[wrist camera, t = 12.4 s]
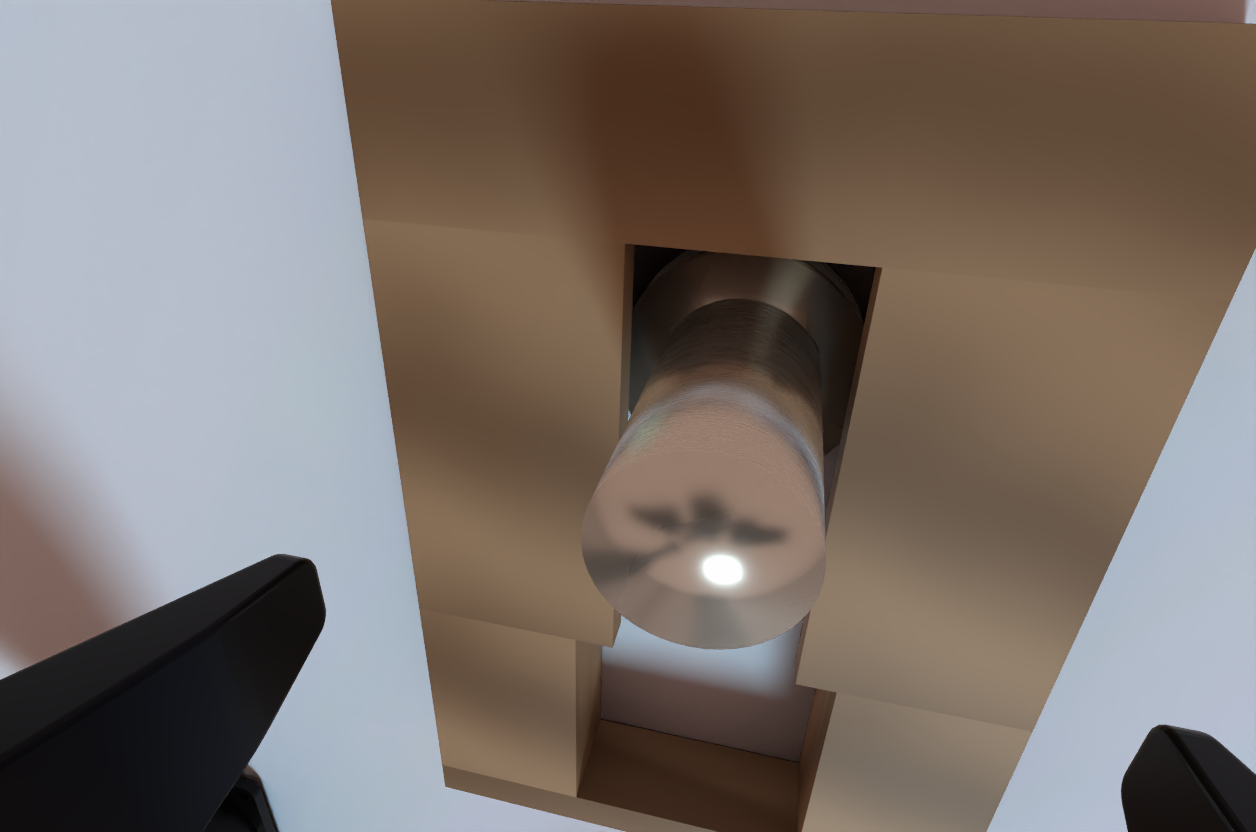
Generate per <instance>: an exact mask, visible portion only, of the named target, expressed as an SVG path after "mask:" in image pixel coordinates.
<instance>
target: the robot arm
mask: <svg viewBox="0 0 1256 832" xmlns="http://www.w3.org/2000/svg"><path fill="white" fill-rule="evenodd" d="M325 618H326V608H325V603H324V599H323V595H322V590H321V586H320V582H319V578H318V573H317V569H316V566H315V565H314V563H313V562H312V561H311V560H309V559H307V558H302V557H297V556H292V555H287V554H277V555H273V556H271V557H269V558H266V559H264V560H262V561H260V562H258V563H255V564H253V565H251V566H249V567H247V568H245V569H242V570H240V571H238V572H236V573H234V574H231V575H229V576H227V577H225V578H223V579H220V580H218V581H216V582H214V583H212V584H209V585H207V586H205V587H203V588H201V589H198V590H196V591H194V592H192V593H190V594H188V595H185V596H183V597H181V598H179V599H177V600H174V601H172V602H170V603H168V604H166V605H163V606H161V607H159V608H157V609H155V610H152V611H150V612H148V613H146V614H144V615H142V616H139V617H137V618H135V619H133V620H131V621H128V622H126V623H124V624H122V625H120V626H117V627H115V628H113V629H111V630H109V631H106V632H104V633H102V634H100V635H98V636H95V637H93V638H91V639H89V640H87V641H84V642H82V643H80V644H78V645H76V646H73V647H71V648H69V649H67V650H65V651H63V652H60V653H58V654H56V655H54V656H52V657H49V658H47V659H45V660H43V661H41V662H38V663H36V664H34V665H32V666H30V667H27V668H25V669H23V670H21V671H19V672H16V673H14V674H12V675H10V676H8V677H5V678H3V679H1V680H0V832H276V830H275V828H274V825H273V822H272V819H271V816H270V813H269V810H268V807H267V804H266V802H265V799H264V796H263V793H262V790H261V788H260V786H259V785H258V784H257V783H255V782H254V781H252V780H250V779H247V778H243V777H240V775H241V773H242V772H243V770H244V769H245V767H246V766H247V764H248V763H249V761H250V759H251V758H252V756H253V755H254V753H255V752H256V750H257V748H258V747H259V745H260V743H261V741H262V740H263V738H264V736H265V735H266V733H267V731H268V729H269V728H270V726H271V724H272V722H273V720H274V718H275V716H276V715H277V713H278V711H279V709H280V707H281V705H282V703H283V702H284V700H285V698H286V696H287V694H288V692H289V690H290V689H291V687H292V685H293V683H294V681H295V679H296V678H297V676H298V674H299V672H300V670H301V668H302V666H303V665H304V663H305V661H306V659H307V657H308V655H309V653H310V652H311V650H312V648H313V646H314V644H315V642H316V640H317V639H318V637H319V635H320V633H321V631H322V629H323V626H324V623H325ZM1121 799H1122V805H1123V810H1124V815H1125V820H1126V824H1127V829H1128V832H1256V774H1255V773H1254V772H1252V771H1251V770H1250V769H1249V768H1248V767H1247V766H1246V765H1245V764H1243V763H1242V762H1241V761H1240V760H1239V759H1238V758H1237V757H1236V756H1234V755H1233V754H1232V753H1231V752H1230V751H1229V750H1228V749H1227V748H1225V747H1224V746H1223V745H1222V744H1221V743H1220V742H1218V741H1217V740H1216V739H1215V738H1213V737H1212V736H1210V735H1208V734H1206V733H1203V732H1200V731H1195V730H1190V729H1185V728H1180V727H1175V726H1170V725H1158V726H1156V727H1154V728H1152V729H1151V731H1150V732H1149V733H1148V735H1147V737H1146V738H1145V740H1144V742H1143V743H1142V745H1141V747H1140V749H1139V750H1138V752H1137V754H1136V755H1135V757H1134V759H1133V761H1132V762H1131V764H1130V766H1129V767H1128V769H1127V771H1126V773H1125V775H1124V777H1123V781H1122V787H1121Z"/></svg>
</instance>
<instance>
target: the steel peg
mask: <svg viewBox="0 0 1256 832" xmlns="http://www.w3.org/2000/svg"><path fill="white" fill-rule="evenodd" d="M863 328H864V323H863V320H862V316H861V313H860V310H859V307H858V305H857V303H856V301H855V299H854V297H853V295H852V293H851V292H850V290H849V289H848V287H847V286H846V284H845V283H844V282H843V280H842V279H841V278H840V277H839V276H838V275H837V274H836V273H835V272H834V270H833V269H832V268H830V267H829V266H828V265H827V264H825V263H824V262H817V261H806V260H796V259H785V258H774V257H764V256H753V255H742V254H732V253H721V252H710V251H700V250H687V251H686V252H684V253H682V254H680V255H679V256H677V257H676V258H675V259H673V260H672V261H671V262H669V263H668V264H667V265H666V266H665V267H664V268H663V269H662V270H661V271H660V272H659V273H658V274H657V275H656V276H655V277H654V279H653V280H652V281H651V282H650V284H649V285H648V286H647V288H646V289H645V291H644V292H643V294H642V295H641V297H640V299H639V300H638V302H637V303H636V305H635V306H634V308H633V310H632V327H631V354H630V381H629V408H628V409H629V411H630V413H631V417H630V419H629V421H628V423H627V425H626V427H625V429H624V431H623V433H622V436H621V438H620V440H619V442H618V444H617V446H616V448H615V450H614V452H613V454H612V456H611V459H610V461H609V463H608V465H607V467H606V469H605V471H604V473H603V475H602V477H601V479H600V482H599V484H598V486H597V488H596V490H595V492H594V494H593V496H592V498H591V500H590V503H589V505H588V507H587V509H586V512H585V514H584V518H583V522H582V528H581V548H582V554H583V558H584V562H585V565H586V568H587V570H588V573H589V575H590V577H591V579H592V580H593V582H594V584H595V586H596V587H597V589H598V590H599V591H600V593H601V594H602V596H603V597H604V598H605V599H606V600H607V601H608V602H609V604H610V605H611V606H612V607H613V608H614V609H615V610H617V611H618V612H619V613H620V614H621V615H622V616H623V617H625V618H626V619H628V620H629V621H630V622H632V623H633V624H635V625H636V626H638V627H640V628H641V629H643V630H645V631H647V632H649V633H651V634H653V635H655V636H657V637H660V638H662V639H665V640H668V641H671V642H674V643H677V644H681V645H685V646H689V647H696V648H703V649H736V648H742V647H749V646H752V645H756V644H760V643H763V642H766V641H768V640H771V639H773V638H776V637H777V636H779V635H781V634H783V633H785V632H787V631H788V630H789V629H791V628H792V627H793V626H795V625H796V624H797V623H799V622H800V621H801V620H802V619H803V618H804V617H805V616H806V615H807V613H808V612H809V611H810V609H811V608H812V607H813V605H814V604H815V602H816V600H817V598H818V596H819V594H820V592H821V589H822V586H823V582H824V578H825V570H826V552H825V509H824V466H823V456H825V455H826V454H828V453H829V452H830V451H831V450H832V449H833V448H835V447H836V446H837V445H838V444H839V443H840V440H841V435H842V431H843V426H844V421H845V416H846V411H847V406H848V401H849V396H850V391H851V387H852V382H853V377H854V372H855V367H856V362H857V357H858V352H859V347H860V343H861V338H862V333H863Z"/></svg>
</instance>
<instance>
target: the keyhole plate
mask: <svg viewBox="0 0 1256 832" xmlns="http://www.w3.org/2000/svg"><path fill="white" fill-rule="evenodd" d="M331 6H332V12H333V19H334V26H335V33H336V40H337V47H338V54H339V60H340V67H341V74H342V81H343V88H344V95H345V102H346V108H347V115H348V122H349V129H350V136H351V143H352V149H353V156H354V163H355V170H356V177H357V184H358V191H359V197H360V204H361V211H362V218H363V225H364V232H365V239H366V245H367V252H368V259H369V266H370V273H371V280H372V287H373V293H374V300H375V307H376V314H377V321H378V328H379V334H380V341H381V348H382V355H383V362H384V369H385V376H386V382H387V389H388V396H389V403H390V410H391V417H392V424H393V430H394V437H395V444H396V451H397V458H398V465H399V472H400V478H401V485H402V492H403V499H404V506H405V513H406V519H407V526H408V533H409V540H410V547H411V554H412V561H413V567H414V574H415V581H416V588H417V595H418V602H419V609H420V615H421V622H422V629H423V636H424V643H425V650H426V657H427V663H428V670H429V677H430V684H431V691H432V698H433V704H434V711H435V718H436V725H437V732H438V739H439V746H440V752H441V759H442V766H443V773H444V780H445V787H449V788H453V789H457V790H461V791H465V792H469V793H473V794H477V795H481V796H485V797H489V798H493V799H497V800H501V801H505V802H509V803H513V804H517V805H521V806H525V807H529V808H533V809H537V810H541V811H545V812H549V813H553V814H557V815H561V816H565V817H569V818H574V819H578V820H582V821H586V822H590V823H594V824H598V825H602V826H606V827H610V828H614V829H618V830H622V831H626V832H986V831H987V829H988V827H989V825H990V822H991V820H992V818H993V816H994V814H995V812H996V809H997V807H998V805H999V803H1000V801H1001V799H1002V796H1003V794H1004V792H1005V790H1006V788H1007V786H1008V783H1009V781H1010V779H1011V777H1012V775H1013V773H1014V770H1015V768H1016V766H1017V764H1018V762H1019V760H1020V757H1021V755H1022V753H1023V751H1024V749H1025V747H1026V744H1027V742H1028V740H1029V738H1030V736H1031V734H1032V731H1033V729H1034V727H1035V725H1036V723H1037V721H1038V718H1039V716H1040V714H1041V712H1042V710H1043V708H1044V705H1045V703H1046V701H1047V699H1048V697H1049V695H1050V692H1051V690H1052V688H1053V686H1054V684H1055V682H1056V679H1057V677H1058V675H1059V673H1060V671H1061V669H1062V666H1063V664H1064V662H1065V660H1066V658H1067V656H1068V653H1069V651H1070V649H1071V647H1072V645H1073V643H1074V640H1075V638H1076V636H1077V634H1078V632H1079V630H1080V627H1081V625H1082V623H1083V621H1084V619H1085V617H1086V614H1087V612H1088V610H1089V608H1090V606H1091V604H1092V601H1093V599H1094V597H1095V595H1096V593H1097V591H1098V588H1099V586H1100V584H1101V582H1102V580H1103V578H1104V575H1105V573H1106V571H1107V569H1108V567H1109V565H1110V562H1111V560H1112V558H1113V556H1114V554H1115V552H1116V549H1117V547H1118V545H1119V543H1120V541H1121V539H1122V536H1123V534H1124V532H1125V530H1126V528H1127V526H1128V523H1129V521H1130V519H1131V517H1132V515H1133V513H1134V510H1135V508H1136V506H1137V504H1138V502H1139V500H1140V497H1141V495H1142V493H1143V491H1144V489H1145V487H1146V484H1147V482H1148V480H1149V478H1150V476H1151V474H1152V471H1153V469H1154V467H1155V465H1156V463H1157V460H1158V458H1159V456H1160V454H1161V452H1162V450H1163V447H1164V445H1165V443H1166V441H1167V439H1168V437H1169V434H1170V432H1171V430H1172V428H1173V426H1174V424H1175V421H1176V419H1177V417H1178V415H1179V413H1180V411H1181V408H1182V406H1183V404H1184V402H1185V400H1186V398H1187V395H1188V393H1189V391H1190V389H1191V387H1192V385H1193V382H1194V380H1195V378H1196V376H1197V374H1198V372H1199V369H1200V367H1201V365H1202V363H1203V361H1204V359H1205V356H1206V354H1207V352H1208V350H1209V348H1210V346H1211V343H1212V341H1213V339H1214V337H1215V335H1216V333H1217V330H1218V328H1219V326H1220V324H1221V322H1222V320H1223V317H1224V315H1225V313H1226V311H1227V309H1228V307H1229V304H1230V302H1231V300H1232V298H1233V296H1234V294H1235V291H1236V289H1237V287H1238V285H1239V283H1240V281H1241V278H1242V276H1243V274H1244V272H1245V270H1246V268H1247V265H1248V263H1249V261H1250V259H1251V257H1252V255H1253V252H1254V250H1255V248H1256V24H1246V23H1213V22H1180V21H1148V20H1115V19H1082V18H1049V17H1017V16H984V15H951V14H919V13H886V12H853V11H820V10H788V9H755V8H722V7H690V6H657V5H624V4H591V3H559V2H526V1H493V0H331ZM634 245H646V246H657V247H667V248H678V249H689V250H700V251H710V252H721V253H732V254H742V255H753V256H764V257H774V258H785V259H796V260H806V261H817V262H828V263H838V264H849V265H860V266H871V267H876V269H875V274H874V279H873V284H872V289H871V294H870V299H869V303H868V308H867V313H866V318H865V323H864V328H863V333H862V338H861V343H860V347H859V352H858V357H857V362H856V367H855V372H854V377H853V382H852V387H851V391H850V396H849V401H848V406H847V411H846V416H845V421H844V426H843V431H842V435H841V440H840V445H839V450H838V455H837V460H836V465H835V470H834V475H833V479H832V484H831V489H830V494H829V499H828V504H827V509H826V514H825V552H826V570H825V578H824V582H823V586H822V589H821V592H820V594H819V596H818V598H817V600H816V602H815V604H814V605H813V607H812V608H811V609H810V611H809V612H808V613H807V615H806V616H805V617H804V621H803V626H802V631H801V636H800V641H799V646H798V651H797V655H796V680H795V684H797V685H802V686H807V687H812V688H816V691H815V695H814V699H813V704H812V708H811V712H810V717H809V721H808V725H807V730H806V734H805V738H804V743H803V747H802V751H801V756H800V760H799V763H796V762H791V761H787V760H782V759H778V758H773V757H769V756H764V755H759V754H755V753H750V752H746V751H741V750H737V749H732V748H728V747H723V746H719V745H714V744H710V743H705V742H701V741H696V740H691V739H687V738H682V737H678V736H673V735H669V734H664V733H660V732H655V731H651V730H646V729H642V728H637V727H632V726H628V725H623V724H619V723H614V722H610V721H605V720H601V671H602V645H603V646H608V647H613V645H614V642H615V639H616V636H617V632H618V629H619V626H620V623H621V614H620V613H619V612H618V611H617V610H615V609H614V608H613V607H612V606H611V605H610V604H609V602H608V601H607V600H606V599H605V598H604V597H603V596H602V594H601V593H600V591H599V590H598V589H597V587H596V586H595V584H594V582H593V580H592V579H591V577H590V575H589V573H588V570H587V568H586V565H585V562H584V558H583V554H582V548H581V528H582V522H583V518H584V514H585V512H586V509H587V507H588V505H589V503H590V500H591V498H592V496H593V494H594V492H595V490H596V488H597V486H598V484H599V482H600V479H601V477H602V475H603V473H604V471H605V469H606V467H607V465H608V463H609V461H610V459H611V456H612V454H613V452H614V450H615V448H616V446H617V444H618V442H619V440H620V438H621V436H622V433H623V431H624V429H625V427H626V425H627V423H628V408H629V381H630V354H631V327H632V300H633V273H634Z"/></svg>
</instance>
